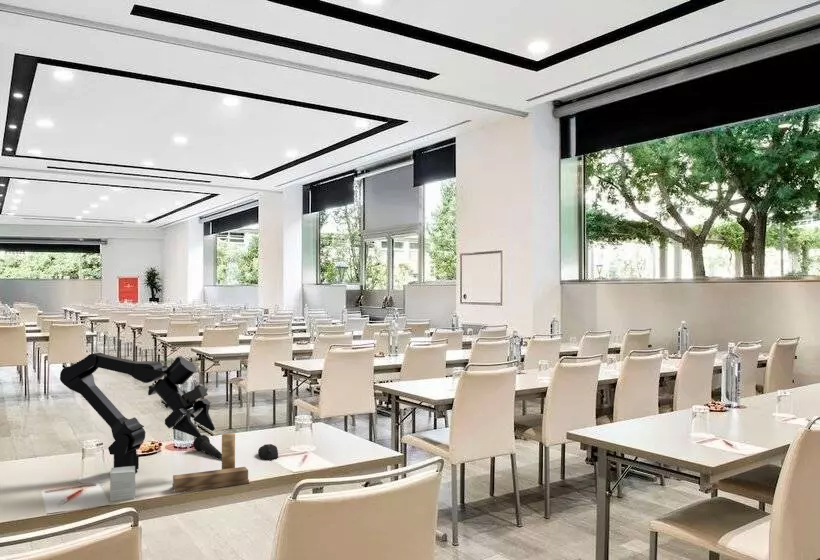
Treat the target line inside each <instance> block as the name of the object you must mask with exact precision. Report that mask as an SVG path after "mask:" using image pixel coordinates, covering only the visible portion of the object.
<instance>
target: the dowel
mask: <svg viewBox="0 0 820 560" xmlns="http://www.w3.org/2000/svg"><path fill="white" fill-rule="evenodd" d="M221 454H222V460H221V470H222V469H230V468H236V434H235V433H233V432H232V433H231V432H227V433H223V434H221Z"/></svg>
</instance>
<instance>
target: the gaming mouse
mask: <svg viewBox="0 0 820 560" xmlns="http://www.w3.org/2000/svg"><path fill="white" fill-rule="evenodd" d="M257 451H258V452H257V454H258V457H259V458H260V460H262V461H269V462H270V461H271V462H272V461H274V459H275V460H278V459H279V449H278V447H277V446H276V445H274V444H270V443H269V444H264V445H261V446H260V447H258V450H257ZM277 458H278V459H277Z"/></svg>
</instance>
